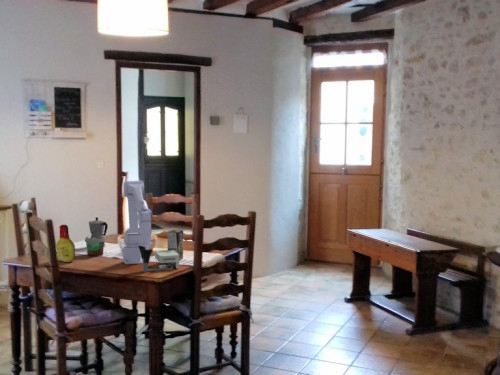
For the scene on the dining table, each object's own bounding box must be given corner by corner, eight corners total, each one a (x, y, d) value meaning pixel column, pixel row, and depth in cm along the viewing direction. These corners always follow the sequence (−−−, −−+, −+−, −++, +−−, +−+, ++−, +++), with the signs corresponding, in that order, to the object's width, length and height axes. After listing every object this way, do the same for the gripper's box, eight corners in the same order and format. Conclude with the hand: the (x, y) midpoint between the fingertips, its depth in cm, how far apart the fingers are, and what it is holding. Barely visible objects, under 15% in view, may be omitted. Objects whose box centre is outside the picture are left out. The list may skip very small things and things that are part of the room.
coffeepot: (83, 246, 346) (83, 217, 344) (95, 244, 354) (94, 215, 352) (101, 249, 338) (101, 219, 336) (113, 246, 346) (113, 217, 344)
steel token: (159, 269, 293) (159, 267, 293) (158, 267, 298) (158, 265, 298) (169, 268, 295) (169, 266, 295) (167, 266, 299) (167, 264, 299)
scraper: (143, 271, 285) (143, 260, 285) (140, 266, 296) (139, 255, 295) (173, 269, 291) (173, 258, 290) (169, 265, 301) (169, 253, 300)
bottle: (53, 261, 307) (52, 224, 305) (62, 259, 312) (61, 222, 310) (68, 263, 301) (68, 226, 299) (77, 261, 306) (77, 224, 304)
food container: (80, 255, 321) (80, 238, 320) (87, 253, 327) (87, 236, 326) (98, 257, 317) (98, 239, 316) (105, 255, 322) (104, 238, 321)
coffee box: (178, 262, 308) (178, 232, 307) (167, 261, 309) (167, 232, 308) (183, 258, 317) (183, 229, 316) (172, 257, 318) (172, 229, 317)
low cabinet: (160, 270, 290) (159, 256, 289) (155, 263, 304) (154, 250, 303) (179, 268, 293) (179, 255, 292) (173, 262, 307) (173, 249, 306)
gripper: (155, 236, 280) (155, 263, 281) (150, 231, 293) (150, 257, 295) (141, 237, 277) (141, 264, 279) (136, 232, 291) (137, 258, 292)
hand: (145, 261), depth 286 cm, fingers open, 7 cm apart
